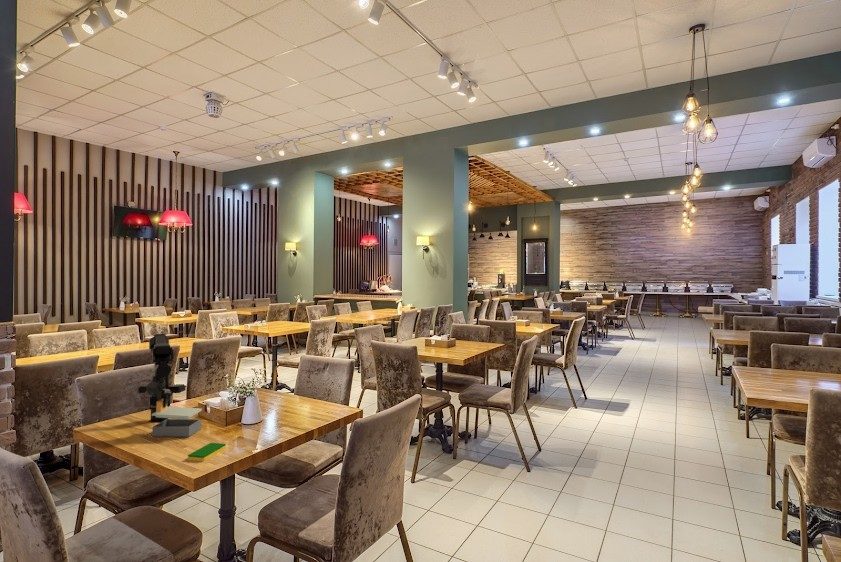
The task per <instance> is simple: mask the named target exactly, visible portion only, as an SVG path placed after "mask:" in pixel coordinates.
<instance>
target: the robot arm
mask: <svg viewBox="0 0 841 562" xmlns="http://www.w3.org/2000/svg"><path fill="white" fill-rule="evenodd" d="M148 350H150V354H151V357H152V363H153V365H154V371H153V373H154V375H153V376H152V381H149V383H144V384H142V385H140V386H139V387H138V388H137V393H138V394H145V393H146V392H147V394H148V395H149V397H148V399H149V400H148V409H149V411H150V419H149V420H148V422H150V423H154V422H155V423H161V422H162V421H164V420H166V419H169V418H159V417H156V416H152V413H154V412H156V405H157V401H159V400H161V399H163V408H165V407H166V405H167V407H171V400H172V399H171V396H172V395H173V394H180V393H182V392H184V391H186V390H187V389H186V385H185V384H183V383H180V384H179V383H178V384H177V383H176V384H174V385H172V383H171V382H170V377H172V374H171V372H172V368H171V366H170V362H173V359H174V358H175V357H174V356H175V354H174V353H175V352H174V349H173V347H171V344H170V339H169V337H167V335H166V333H155V334H154V335H153V336H152V337H151V338H149V342H148ZM171 385H172V386H171Z"/></svg>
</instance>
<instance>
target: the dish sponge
mask: <svg viewBox="0 0 841 562" xmlns="http://www.w3.org/2000/svg"><path fill="white" fill-rule="evenodd" d="M224 450H226V443H219V442H209V443H207V444H205V445H203V446H202V447H200V448H199V449H196V450H195V451H193V452H191V453H189V454H188V455H187V460H188V461H191V460H193V462H201V461H204V462H206V461H208V460H210V458H213V457H214V456H216V455H217V453H218V454H219V453H221V452H223V451H224ZM212 456H213V457H212ZM207 459H208V460H207Z"/></svg>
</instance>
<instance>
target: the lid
mask: <svg viewBox="0 0 841 562" xmlns="http://www.w3.org/2000/svg"><path fill="white" fill-rule="evenodd" d="M202 410H203V408H201V407H200V408H199V407H198V408H197V407H182V406H181V407H180V406H169V407H167V405H166V407H165V408H163V399H161V400H159V401H157V405H156V412H154V413H152V416H156V417H159V418H168V419H190V418H191V419H192V417H194V416H195V415H197V414H198V413H199V412H202Z"/></svg>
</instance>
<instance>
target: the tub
mask: <svg viewBox="0 0 841 562" xmlns="http://www.w3.org/2000/svg"><path fill="white" fill-rule="evenodd" d="M200 430H202V419H199V418H195V419H194V418H193V419H192V418H191V419H190V418H189V419H176V418H168V419H166V420H164V421H162V422H158V423H157V424H155V425H153V426H152V438H190V437H192V436H193V435H195V434H196V433H198V432H199V431H200Z"/></svg>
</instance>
